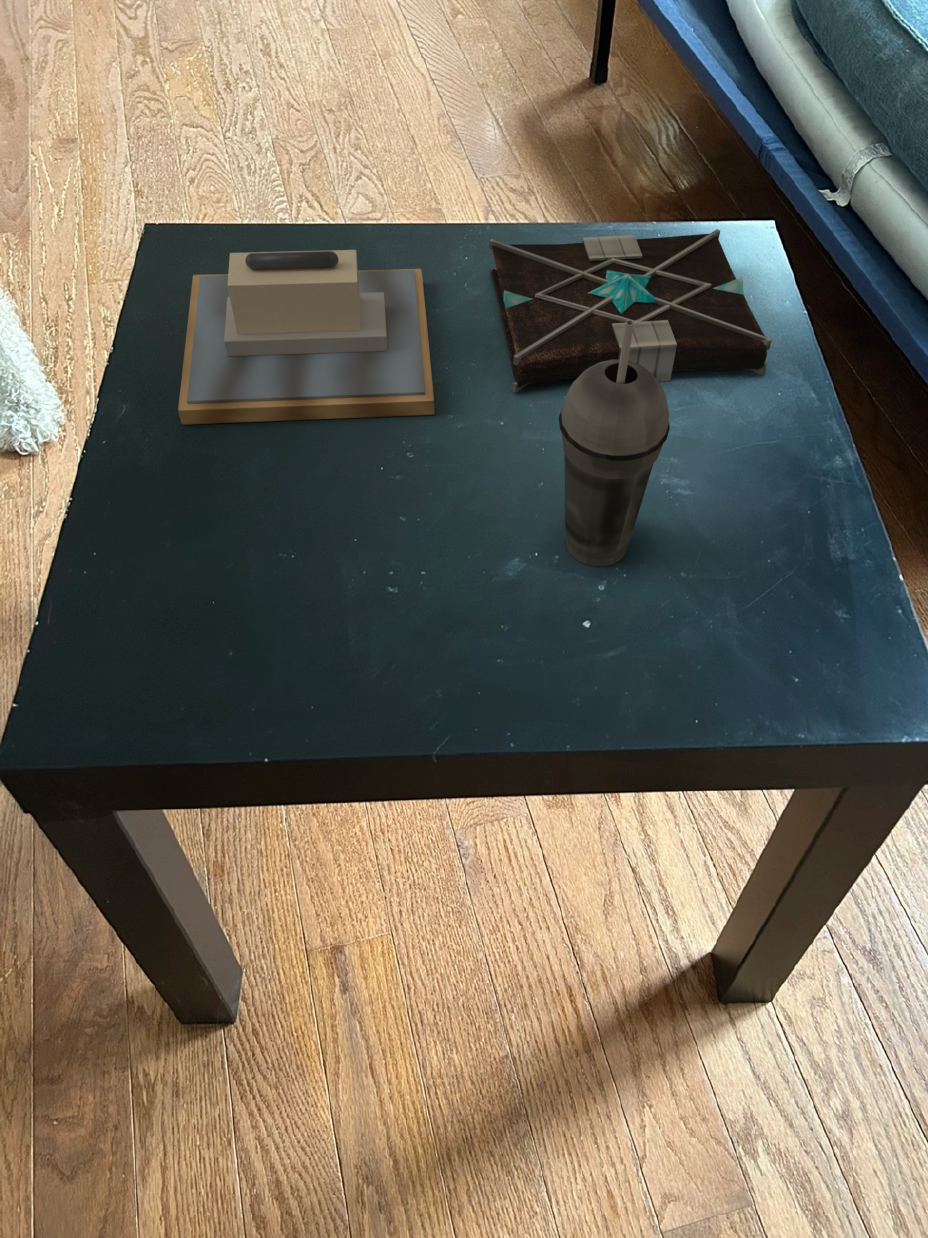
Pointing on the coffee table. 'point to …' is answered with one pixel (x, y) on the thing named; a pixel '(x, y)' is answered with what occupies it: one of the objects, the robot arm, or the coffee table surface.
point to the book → (624, 307)
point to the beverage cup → (609, 453)
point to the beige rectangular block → (300, 305)
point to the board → (308, 364)
